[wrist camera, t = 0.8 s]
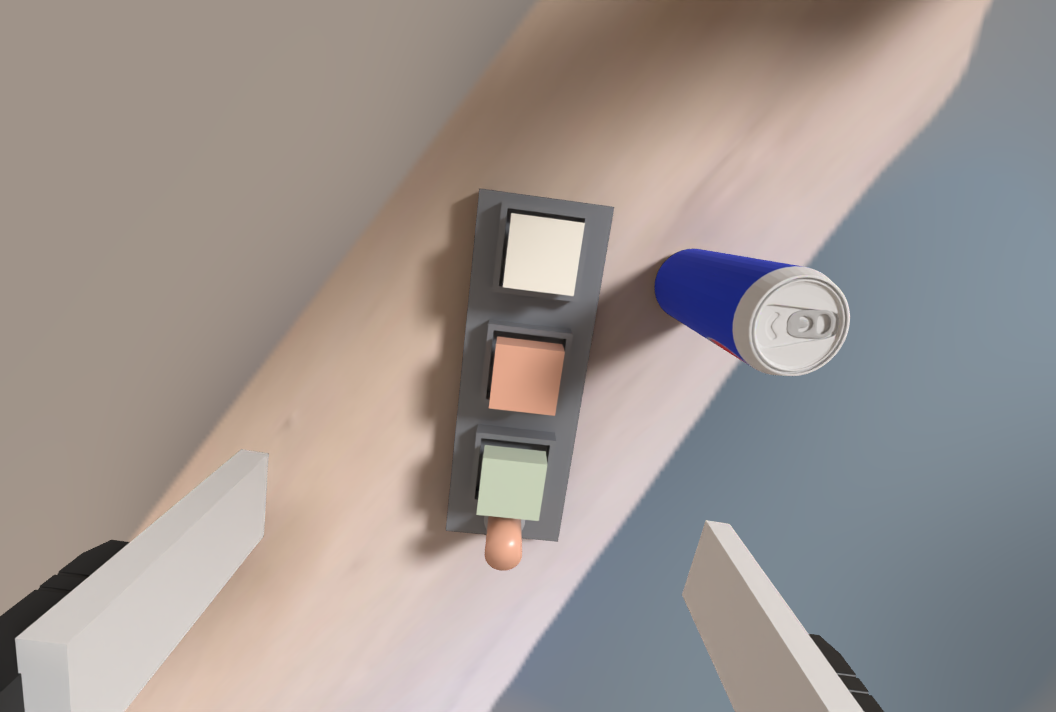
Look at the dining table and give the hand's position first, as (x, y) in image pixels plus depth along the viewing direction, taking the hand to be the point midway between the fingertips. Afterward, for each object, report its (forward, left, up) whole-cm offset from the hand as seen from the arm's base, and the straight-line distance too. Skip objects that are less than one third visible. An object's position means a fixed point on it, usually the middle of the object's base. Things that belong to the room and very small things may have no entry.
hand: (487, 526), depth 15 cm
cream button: (-5, -5, -20) cm, 21 cm away
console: (0, +3, -23) cm, 24 cm away
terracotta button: (-1, +2, -19) cm, 20 cm away
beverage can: (-14, +2, -24) cm, 28 cm away
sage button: (+4, +8, -19) cm, 21 cm away
